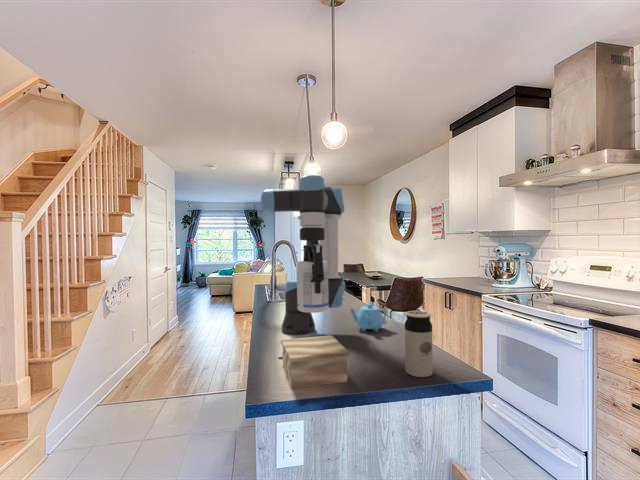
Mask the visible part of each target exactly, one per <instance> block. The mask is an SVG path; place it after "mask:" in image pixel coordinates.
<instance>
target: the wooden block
mask: <svg viewBox="0 0 640 480" xmlns="http://www.w3.org/2000/svg"><path fill="white" fill-rule="evenodd" d="M280 344H281V346H282V348H283V358H282V367H283V368H282V369H283V370H284V373H285V375H286V378H287V381H288V383H289V385H290V388H291V389H300V388H301V389H302V388H308V387H316V386H323V385H332V384H339V383H346V382H348V356H349V357H350V351H349V350H348V349H346V347H344V346H343V344H341V342H339V341H338V340H337V339H336V338H335V337H334V336H333V335H321V336H311V337H309V336H308V337H296V338H287V339H281V340H280Z"/></svg>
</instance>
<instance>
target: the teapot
mask: <svg viewBox="0 0 640 480" xmlns="http://www.w3.org/2000/svg"><path fill="white" fill-rule="evenodd" d="M349 310H350V312H351V315H352V317H353V319H354V321H355V322H356V324H357V326H358V327H359V328H360V329H361V330H360V331H361V332H367V330H372V331H373V333H374V332H375V333H378V332H379V331H380V330H379V329H381V328H382V326H383V325H386V324H387V323H388V320H387V319H385V318H386V316H387V311H386V310H385V309H384V308H380V307H378V306H374V305H373V304H372V303H371V301H370V300H369V301H368V302H367V304H366V305H364V306H361V307H360V308H359V311H358V312H356V311H355V310H354V308H350V309H349ZM382 311H383V315H382Z"/></svg>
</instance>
